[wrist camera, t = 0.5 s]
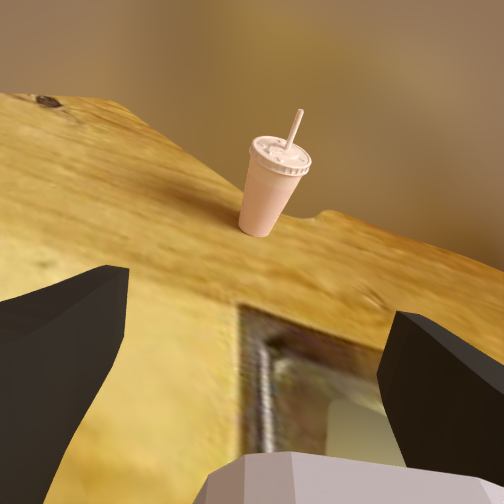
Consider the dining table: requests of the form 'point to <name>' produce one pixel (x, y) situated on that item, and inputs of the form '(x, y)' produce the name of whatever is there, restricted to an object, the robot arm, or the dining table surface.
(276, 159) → the smoothie
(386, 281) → the dining table surface
